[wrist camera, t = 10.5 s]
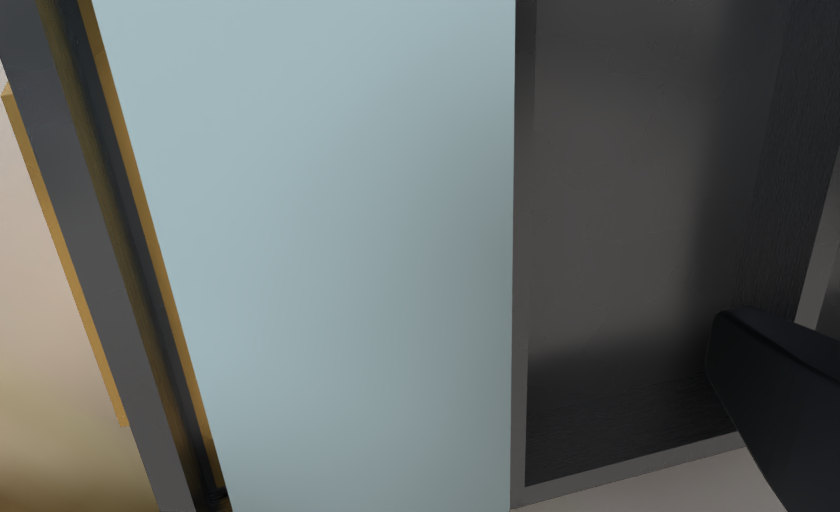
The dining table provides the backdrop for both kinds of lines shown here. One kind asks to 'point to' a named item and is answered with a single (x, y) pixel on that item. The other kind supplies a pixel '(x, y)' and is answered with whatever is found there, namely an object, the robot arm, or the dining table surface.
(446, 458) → the blanking panel
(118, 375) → the grey compartment tray
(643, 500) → the dining table surface
